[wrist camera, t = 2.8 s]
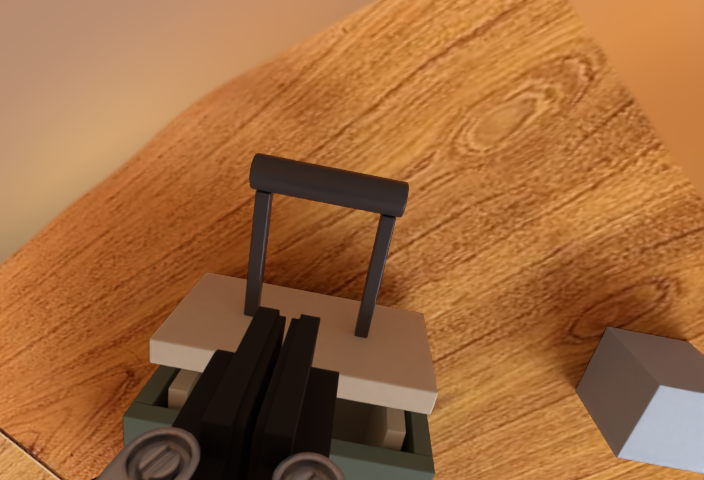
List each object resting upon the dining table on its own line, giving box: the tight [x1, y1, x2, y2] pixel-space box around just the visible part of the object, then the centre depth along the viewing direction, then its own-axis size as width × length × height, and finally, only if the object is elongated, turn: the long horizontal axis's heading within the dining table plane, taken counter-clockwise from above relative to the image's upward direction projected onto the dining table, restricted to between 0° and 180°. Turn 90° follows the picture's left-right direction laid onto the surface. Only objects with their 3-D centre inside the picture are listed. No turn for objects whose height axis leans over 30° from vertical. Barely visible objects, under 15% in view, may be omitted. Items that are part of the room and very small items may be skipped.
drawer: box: [149, 153, 438, 451], centre depth 20 cm, size 21×11×6 cm, turn 170°
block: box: [576, 327, 704, 474], centre depth 21 cm, size 4×4×4 cm
